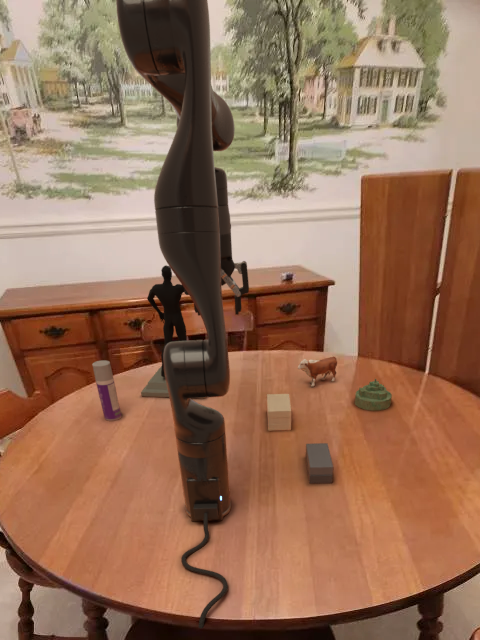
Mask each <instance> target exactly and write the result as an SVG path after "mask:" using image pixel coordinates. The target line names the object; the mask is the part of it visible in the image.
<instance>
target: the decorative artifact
mask: <svg viewBox="0 0 480 640" xmlns="http://www.w3.org/2000/svg"><path fill="white" fill-rule="evenodd" d="M354 396H355V397H354V404H355V406H356V407H357V408H359V409H361V410H365V411H371V412H372V411H373V412H377V411H384V410H387V409H389V408H390V407H391V404H392V397H393V394H392V393H391V392H390V391H388V390H387V388H386V387H385V385H384V384H383V383H380V382H379V380H377V378H374V380H373V381H369V383H368V384H365V385H364V386H362V387H359V388H358V390H356V392H355V395H354Z"/></svg>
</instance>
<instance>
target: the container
mask: <svg viewBox="0 0 480 640" xmlns="http://www.w3.org/2000/svg"><path fill="white" fill-rule="evenodd" d="M91 365H92V369H93V375H94V379H95V384H96V389H97V392H98V397H99V401H100V405H101V410H102V413H103V418H104V420H105V421H108V422H114V421H118V420H120V419H121V418H122V412H121V406H120V402H119V397H118V393H117V388H116V383H115V378H114V375H113V370H112V366H111V362H110V361H109V360H105V359H104V360H103V359H102V360H97V361H94V362H93V363H92V364H91Z"/></svg>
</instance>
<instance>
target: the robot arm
mask: <svg viewBox="0 0 480 640" xmlns="http://www.w3.org/2000/svg"><path fill="white" fill-rule="evenodd" d="M115 2H116V3H115V5H116V17H117V23H118V30H119V34H120V38H121V42H122V45H123V49H124V51H125V54H126V57H127V58H128V61H129V62H130V64H131V66H132V67H133V69H134V70H135V72H137V74H138V75H139V76H141V78H143V79H144V80H145V81H146V82H147V83H148V84H150V86H151V87H153V89H154V90H156V91H157V92H158V93H159V94H160V95H161V96H162V97H163V98H164V99H166V101H167V102H168V103H169V104H170V106H171V107H172V108H173V110H174V112H175V114H176V131H175V133H174V137H173V138H172V142H171V144H170V146H169V149H168V151H167V154H166V157H165V159H164V162H163V164H162V166H161V169H160V171H159V174H158V176H157V181H156V184H155V188H154V194H153V204H154V210H155V211H154V213H155V221H156V222H155V223H156V231H157V239H158V240H157V241H158V246H159V249H160V252H161V254H162V257H163V258H164V260H165V261H166V263H167V266H170V268H171V271H172V273H173V274H174V275H175V277H176V278H177V280H178V281H179V283H180V285H183V287H184V292H183V294H184V295H186V296H189V297H190V298H191V300H192V302H193V308H194V312H195V314H197V316H200V318H201V319H202V322H203V325H204V328H205V331H206V335H207V339H204V340H203V339H196V340H195V339H194V340H186V341H179V340H173V341H172V342H169V343H168V344H167V345H166V346H165V349H164V353H163V364H164V372H165V378H166V383H167V388H168V393H169V397H168V398H169V402H170V403H169V404H170V408H171V414H172V421H173V427H174V436H175V443H176V450H177V451H176V452H177V457H178V465H179V471H180V478H181V479H180V480H181V487H182V491H183V498H184V510H185V513H186V515H187V516H188V517H190V521H191V522H203V533H204V537H203V540H202V541H201V542H200V543H198V544H197V545H195V546H194V547H192V548H190V549H188V550H187V551H185V552H184V553H183V554H182V556H181V565H182V566H183V567H184V568H185V569H186V570H187V571H190V572H193V573H196V574H201V575H205V576H209V577H213V578H215V579H217V580H219V581H220V582H221V584H222V589H221V591H220V592H219V593H218V594H217V595H216V596H215V597H213V598H212V599H211V600H210V601H209V602H208V603H207V604H206V605H205V607H204V608H203V610H202V611H201V614H200V617H199V620H198V628H199V629H203V628H204V627H205V621H206V618H207V615H208V613H209V612H210V611H211V609H212V607H214V606H215V605H216V604H217V603H218V602H219V601H220V600H221V599H222V598H223V597H225V595H227V592H228V590H229V584H228V580H227V579H226V577H224V576H223V575H222V574H220V573H218V572H215V571H213V570H210V569H209V570H208V569H203V568H199V567H196V566H192V565H190V564H188V562H187V558H188V557H189V556H190V555H192V554H194V553H196V552H197V551H199V550H201V549H202V548H203V547H204V546H205V545H206V544H207V543H208V541H209V539H210V531H209V522H219V521H220V522H221V521H223V519H224V517H226V516H227V515H228V514H229V513H230V512H231V510H232V500H231V492H230V479H229V464H228V452H227V451H228V449H227V437H226V435H227V434H226V422H225V418H224V415H223V414H222V413H221V412H220V411H219V410H218V409H216V408H212V407H211V406H206V405H204V404H200V403H199V402H197V401H195V400H194V399H199V398H204V399H206V398H220V397H224V396H226V395H227V394H228V392H229V389H230V386H231V385H230V383H231V371H230V368H231V367H230V358H229V351H228V340H227V331H226V321H225V311H224V302H223V301H224V300H223V289H222V287H223V286H225V285H227V287H228V288H229V289H230V290H231V291H232V292H233V294H234V310H235V311H234V312H235V316H236V315H237V316H238V315H239V313H241V311H242V296H243V295H245V294H249V292H250V283H249V273H248V263H247V261H246V260H243V261H242V262H234V260H233V247H232V245H233V244H232V223H231V215H230V208H229V194H228V193H229V191H228V177H227V173H226V170H224V169H223V168H220V167H218V166H217V167H216V166H215V158H214V157H215V155H214V152H223V151H226V150H227V149H229V148H230V147H231V146H232V144H233V141H234V139H235V138H234V137H235V131H236V129H235V121H234V116H233V113H232V111H231V108H230V106H229V105H228V103H227V102H226V100H224V99H223V97H221V96H220V95H219V94H218V93H217V92H215V90H214V89H213V86H212V61H211V60H212V56H211V55H212V53H211V51H212V49H211V25H210V11H209V1H208V0H116V1H115ZM235 270H237V273H238V274H239V275H241V280H242V281H241V282H242V286H241V287H240V286H239V285H238V284H237V283H236V281H235V279H234V278H233V277H232V275H233V274H234V271H235Z"/></svg>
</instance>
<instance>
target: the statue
mask: <svg viewBox="0 0 480 640" xmlns="http://www.w3.org/2000/svg"><path fill="white" fill-rule="evenodd" d="M160 271H161V277H162V278H163V281H162V283H155V284H153V286H151V288H150V289H149V292H148V295H147V297H146V298H147V299H146V300H147V301H148V303H149V304H150V305H151V307H152V308H153V309H154V310H155V311H156V312H157V315H158V316H159V320H160V323H162V324H163V327H162V331H163V332H162V333H163V338H164V345H163V348H162V350H161V354H160V355H161V366H160V367H159V368H158V370H157V371H155V373H154V374H153V375H152V377H150V379H149V380H148V382H147V384H146V385H145V387H143V389H142V390H141V391H140V394H141V397H145V398H146V397H147V398H169V393H168V388H167V383H166V378H165V372H164V364H163V353H164V349H165V346H166V345H167V344H168V343H169V342H173V338H174V334H175V335H176V337H177V339H178V341H187V326H186V323H185V320H184V316H183V313H182V309H181V306H180V302H181V299H182V295H183V294H184V287H183V285H182V284H181V283H176V284H175V285H173V282H172V277H173V271H172V269H171V268H170V266H169V265H168V264H165V265H164V266H162V268H161V270H160ZM155 297H156V298H157V300H158V301H159V302H160V304H161V306H162V307H163V311H161V309H160V308H159V307H158V305H157V303H156V300H155ZM198 399H202V400H205V398H198Z"/></svg>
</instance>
